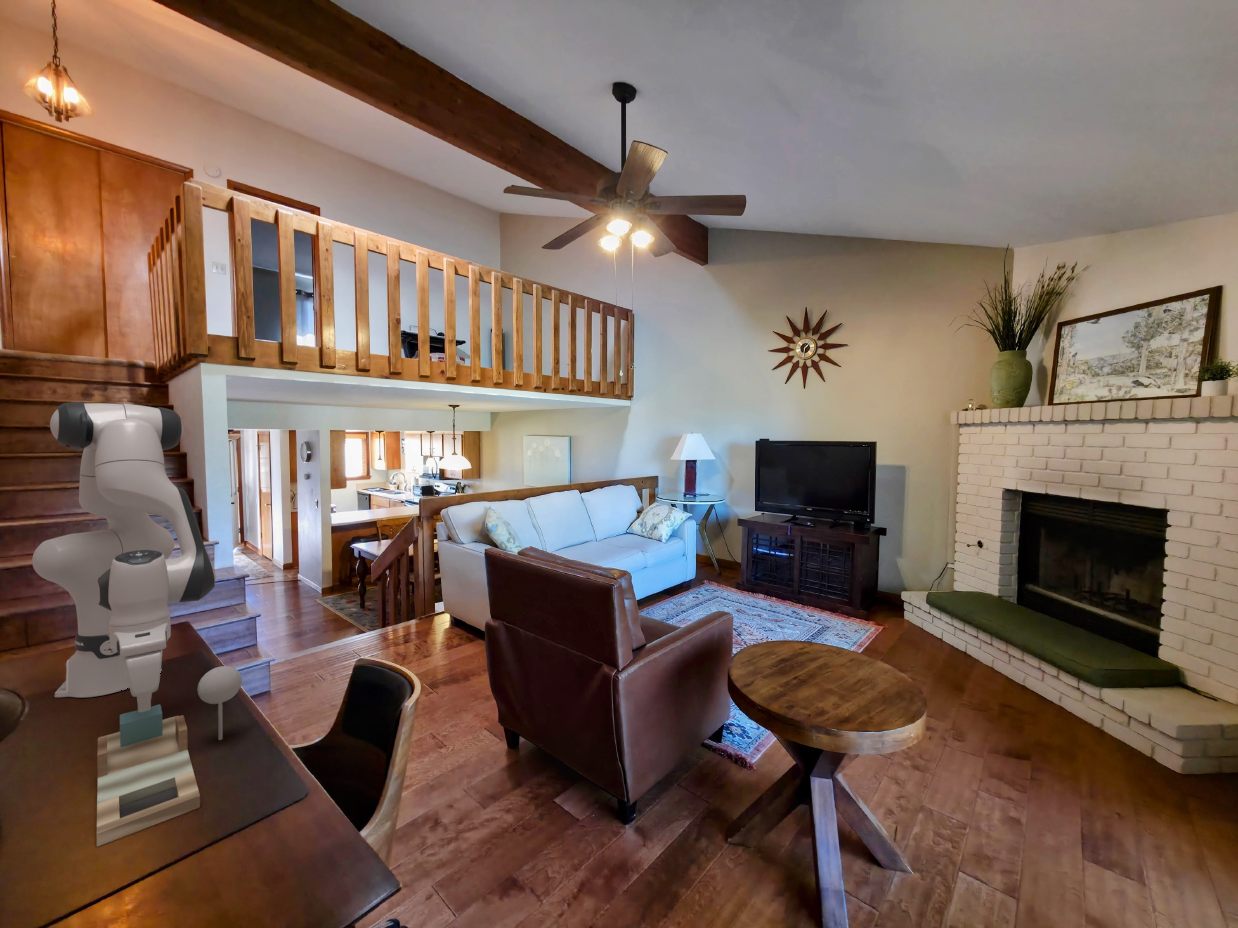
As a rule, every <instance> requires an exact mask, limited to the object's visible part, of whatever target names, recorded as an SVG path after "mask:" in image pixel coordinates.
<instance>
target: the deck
mask: <svg viewBox="0 0 1238 928" xmlns="http://www.w3.org/2000/svg"><path fill="white" fill-rule="evenodd" d="M96 758H97V762H96V763H97V787H96V789H97V794H96V795H97V796H96V798H97V799H96V848H98V847H100V846H103V845H106V844H108V843H111V842H113V841H116V840H119V839H122V838H124V837H126V836H129V835H132V834H135V833H137V832H140V831H142V830H145V829H147V828H150V827H152V826H155V825H157V824H158V825H159V824H160V823H163V822H165V821H168V820H171V819H173V818H176V817H178V816H181V815H184V814H187V813H189V812H191V811H193V810H197V809H200V808H201V794H200V791H199V790H200V789H199V786H198V783H197V780H196V776H195V772H194V768H193V765H192V761H191V757H190V754H189V750H188V726H187V723H186V719H185V716H184V715H183V714H182V715H175V716H172V717H168V718H164V719H162V736H158V737H155V738H151V739H148V740H145V741H141V742H138V743H134V744H131V745H128V746H124V747H120V731H117V732H113V733H111V734H107V735H103V736H99V737H98V738H97V755H96Z"/></svg>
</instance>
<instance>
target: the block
mask: <svg viewBox="0 0 1238 928" xmlns="http://www.w3.org/2000/svg"><path fill="white" fill-rule="evenodd" d="M162 720H163V710H162V705H161V704H160V703H158V704H155V705H151V709H150V710H148V711H145V712H141V713H140V712H138V709H136V710H133V711H129V712H124V713H121V714H119V732H120V747H124V746H128V745H131V744H134V743H138V742H141V741H145V740H148V739H151V738H155V737H158V736H162Z"/></svg>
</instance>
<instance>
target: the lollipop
mask: <svg viewBox="0 0 1238 928" xmlns="http://www.w3.org/2000/svg"><path fill="white" fill-rule="evenodd" d="M242 681H243V678H242V675H241V673H240V671H238V669H237V668H235V667H233V666H227V665H222V666H218V667H214V668H212V669H211V670H209V671H207V672H206V673H205V674H204V675H203V676H202V677H201V678H200V680H199V682H198V685H197V694H198V697H199V698H200V700H201V701H203V702H204V703H207V704H210V705H216V704H217V718H218V719H217V722H218V723H217V727H218V730H217V731H218V733H217V734H218V735H217V739H218V741H221V740H223V738H224V737H223V735H224V734H223V703H225V702H228V700H230V699H232V698H233V697H234V696H236V694H238V692H239V690H240V688H241V686H242Z"/></svg>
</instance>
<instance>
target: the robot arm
mask: <svg viewBox="0 0 1238 928" xmlns="http://www.w3.org/2000/svg"><path fill="white" fill-rule="evenodd" d="M49 428H50V431H51V434H52V435H53V437H54V438H55V441H56V442H57V443H59V444H60V445H61V446H63V447H66V448H71V449H75V450H83V451H82V454H81V455H82V456H81V461H80V468H79V469H80V470H79V489H78V504H79V506H80V507H81V508H82V510H83V511H85V512H87V513H89V514H91V515H94V516H98V517H101V518H105V519H106V521H107V525H108V526H107V527H108V528H106V529H101V530H94V531H84V532H74V533H70V534H65V535H62V536H61V535H60V536H56V537H54V538H50V539H46V540H44V541H42V542H41V543H40V544H39V545H38V546H37V547H36V548H35V550H34V552H33V555H32V559H31V564H32V568H33V570H34V571H35V572H36V574H37V575H38V576H40V577H41V578H42V579H45V580H47V581H48V582H52V583H55V584H56V585H58V586H60V587H62V588H63V589H65V591H67V593H69V595H70V596H71V598H72V599H73V602H74V604H75V609H76V619H77V633H76V634H75V639H74V645H75V650H76V651H75V652H74V654H72V655H71V656H70V657H69V658H68V659H67V661H66V662H65V668H66V672H65V673H66V674H65V681H64V682H63V683H62V684H61V685H60V687H58V688H57V690H56V691H55V692H54V698H68V697H69V698H93V697H99V696H100V697H101V696H105V695H110V694H113V693H117V692H122V691H124V690H128V689H129V690H130V694H131V696H132V697H133V698H135V697H136V700H137V701H136V702H137V710H138V712H140V713H141V712H145V711H148V710H150V709H151V706H152V703H151V702H152V695H153V693H154V692H156V691H158V689H159V684H160V681H161V680H160V679H161V674H162V673H161V671H162V672H163V670H162V662H163V650H164V649H167V645H168V644H167V642H168V640H169V639H170V638H171V636H172V633H171V632H172V631H171V627H172V626H171V611H170V608H169V605H168V604H173V603H178V602H179V603H185V602H186V603H187V602H197V601H200V600H202V599H203V598H205V597H206V596H207V595H208V594H209V593H210V592H211V591H213V589H214V588H215V585H216V580H217V579H216V578H217V577H216V570H215V567H214V566H213V564H212V562H211V560H210V557H209V554H208V552H207V549H206V547H205V543H204V540H203V537H202V533H201V529H200V527H199V524H198V520H197V518H196V515H195V512H194V509H193V506H192V503H191V501H190V498H189V496H188V494H187V492H186V490H184V489H183V488H182V487H179V486H177V485H175V484H173V482H172V481H171V480H170V478H169V477H168V474H167V472H166V468H165V457H164V451H167V450H172V449H173V448H175V447H176V446H178V445H179V444H180V442H181V439H182V437H183V434H184V424H183V422H182V419H181V417H180V415H179V414H178V413H177V412H176V411H175V410H173V409H169V408H165V407H161V406H158V407H152V406H146V405H140V404H133V403H132V404H131V403H105V402H103V403H101V402H100V403H99V402H97V403H93V402H92V403H91V402H89V403H84V402H83V401H75V402H73V401H72V402H64V403H62V404H60V405H59V406H57V407H56V410H55V411H54V412H53V414H52V416H51V418H50V420H49ZM148 513H149V514H153V515H157V516H160V517H162V518H164V519H166V520H167V521H169V523H170V524H171V525H172V527H173V529H174V533H175V537H176V538H177V539H176V540H177V542H178V546H179V549H180V553H181V555H180V556H178V557H174V558H173V557H172V558H170V556H172V554H173V552H174V548H175V539H174V537H173V535H172V533H171V532H170V530H168V529H167V528H165V527H164V526H161V525H160V524H158V523H157V522H155V521H154V520H153V518H151V516H150V515H149V514H148ZM160 673H161V674H160ZM127 688H128V689H127ZM121 690H122V691H121Z"/></svg>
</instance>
